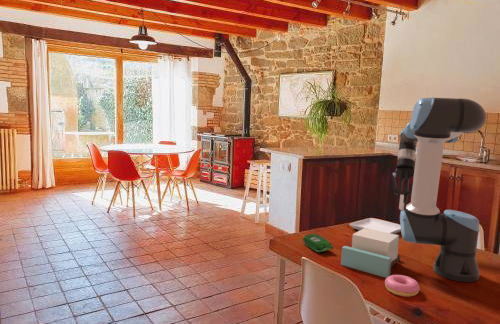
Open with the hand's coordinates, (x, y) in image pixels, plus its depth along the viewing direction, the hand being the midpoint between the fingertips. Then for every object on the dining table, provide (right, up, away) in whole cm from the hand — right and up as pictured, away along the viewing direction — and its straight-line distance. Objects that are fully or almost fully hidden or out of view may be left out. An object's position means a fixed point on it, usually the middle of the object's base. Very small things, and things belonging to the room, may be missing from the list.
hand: (401, 209), depth 173 cm
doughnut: (-17, -22, -43) cm, 51 cm away
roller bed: (-17, -19, -18) cm, 31 cm away
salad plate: (-2, -14, +25) cm, 29 cm away
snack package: (-38, -17, -5) cm, 42 cm away
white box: (-18, -16, -20) cm, 32 cm away
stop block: (-24, -19, -27) cm, 41 cm away
